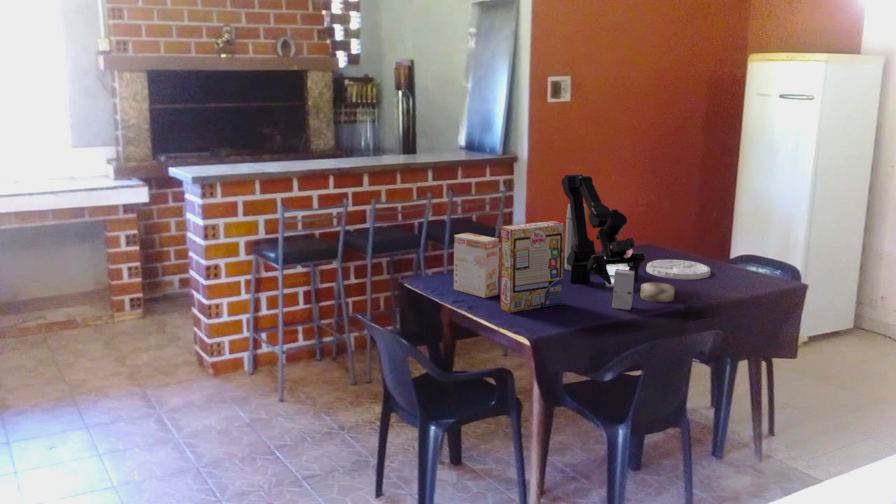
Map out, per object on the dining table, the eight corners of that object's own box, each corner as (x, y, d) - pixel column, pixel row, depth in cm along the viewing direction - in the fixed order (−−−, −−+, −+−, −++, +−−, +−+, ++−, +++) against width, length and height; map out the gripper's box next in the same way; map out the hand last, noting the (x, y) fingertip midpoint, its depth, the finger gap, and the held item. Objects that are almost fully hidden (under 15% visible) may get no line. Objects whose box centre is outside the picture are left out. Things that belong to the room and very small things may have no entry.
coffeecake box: (498, 294, 274) (499, 238, 270) (484, 298, 269) (485, 241, 265) (467, 286, 285) (467, 231, 280) (452, 289, 280) (453, 234, 276)
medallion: (664, 282, 293) (665, 275, 293) (631, 264, 319) (631, 259, 318) (722, 278, 299) (723, 272, 298) (685, 261, 324) (685, 256, 324)
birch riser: (641, 301, 268) (642, 290, 267) (639, 292, 278) (639, 281, 277) (675, 303, 266) (676, 291, 265) (672, 294, 276) (672, 283, 276)
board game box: (552, 300, 268) (555, 220, 262) (563, 305, 262) (566, 223, 256) (498, 308, 259) (500, 225, 253) (509, 313, 253) (511, 228, 247)
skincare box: (611, 308, 259) (613, 271, 257) (613, 304, 263) (615, 268, 261) (631, 310, 257) (633, 273, 255) (632, 306, 262) (634, 270, 259)
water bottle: (579, 272, 304) (582, 207, 299) (560, 269, 308) (562, 205, 303) (588, 267, 312) (591, 203, 306) (570, 265, 316) (572, 202, 310)
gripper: (592, 230, 258) (606, 272, 250) (644, 228, 262) (660, 269, 254) (580, 249, 267) (593, 290, 259) (631, 247, 272) (646, 286, 264)
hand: (623, 283), depth 259 cm, fingers open, 9 cm apart
